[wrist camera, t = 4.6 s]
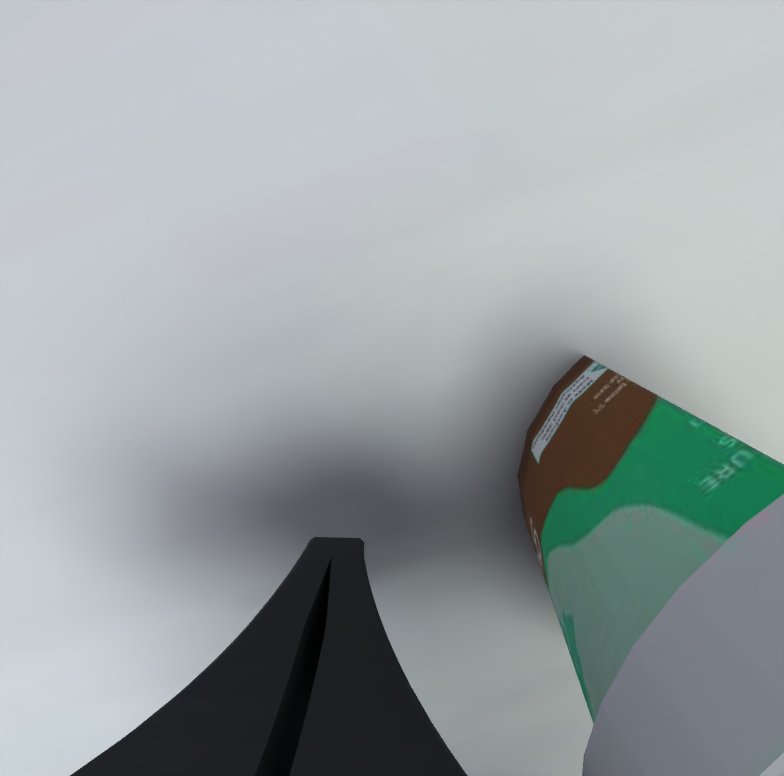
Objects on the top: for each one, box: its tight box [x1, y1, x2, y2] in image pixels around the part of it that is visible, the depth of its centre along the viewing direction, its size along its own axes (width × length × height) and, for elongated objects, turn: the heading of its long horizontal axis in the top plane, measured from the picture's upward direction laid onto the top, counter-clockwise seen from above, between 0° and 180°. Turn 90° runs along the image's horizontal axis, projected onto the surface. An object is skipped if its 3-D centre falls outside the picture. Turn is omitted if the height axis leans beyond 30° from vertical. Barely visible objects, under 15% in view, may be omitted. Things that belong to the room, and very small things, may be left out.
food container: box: [518, 355, 784, 776], centre depth 9 cm, size 12×6×10 cm, turn 46°
